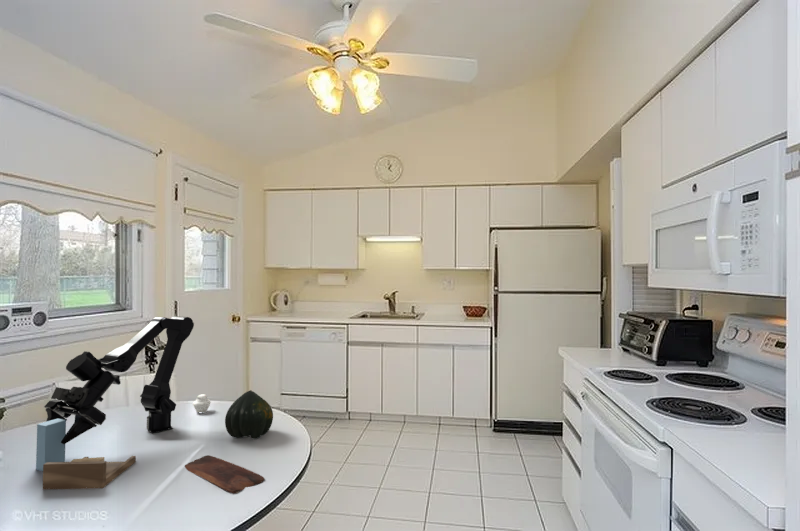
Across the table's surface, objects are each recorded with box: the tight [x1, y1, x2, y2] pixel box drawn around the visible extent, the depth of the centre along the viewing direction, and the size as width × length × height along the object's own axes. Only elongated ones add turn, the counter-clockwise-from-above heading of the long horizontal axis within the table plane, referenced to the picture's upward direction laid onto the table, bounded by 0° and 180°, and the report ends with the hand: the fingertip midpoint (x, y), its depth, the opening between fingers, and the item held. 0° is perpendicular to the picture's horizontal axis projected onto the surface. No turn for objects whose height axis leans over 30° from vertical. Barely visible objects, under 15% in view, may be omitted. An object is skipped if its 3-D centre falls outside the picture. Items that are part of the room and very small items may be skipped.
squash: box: [224, 389, 274, 440], centre depth 143 cm, size 14×15×15 cm
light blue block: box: [35, 419, 67, 472], centre depth 116 cm, size 5×4×13 cm
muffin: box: [192, 393, 211, 413], centre depth 165 cm, size 6×6×7 cm
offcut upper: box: [70, 456, 105, 462], centre depth 108 cm, size 4×7×2 cm, turn 102°
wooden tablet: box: [184, 454, 265, 495], centre depth 116 cm, size 26×2×10 cm
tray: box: [42, 455, 137, 491], centre depth 112 cm, size 15×14×7 cm
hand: (51, 440), depth 116 cm, fingers open, 9 cm apart
